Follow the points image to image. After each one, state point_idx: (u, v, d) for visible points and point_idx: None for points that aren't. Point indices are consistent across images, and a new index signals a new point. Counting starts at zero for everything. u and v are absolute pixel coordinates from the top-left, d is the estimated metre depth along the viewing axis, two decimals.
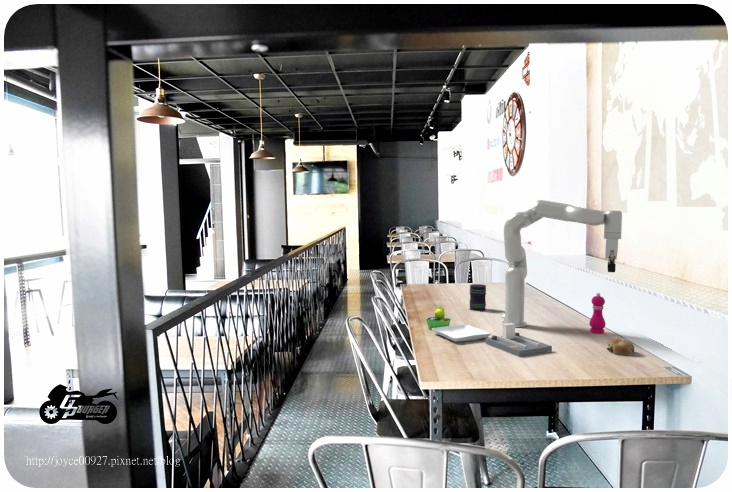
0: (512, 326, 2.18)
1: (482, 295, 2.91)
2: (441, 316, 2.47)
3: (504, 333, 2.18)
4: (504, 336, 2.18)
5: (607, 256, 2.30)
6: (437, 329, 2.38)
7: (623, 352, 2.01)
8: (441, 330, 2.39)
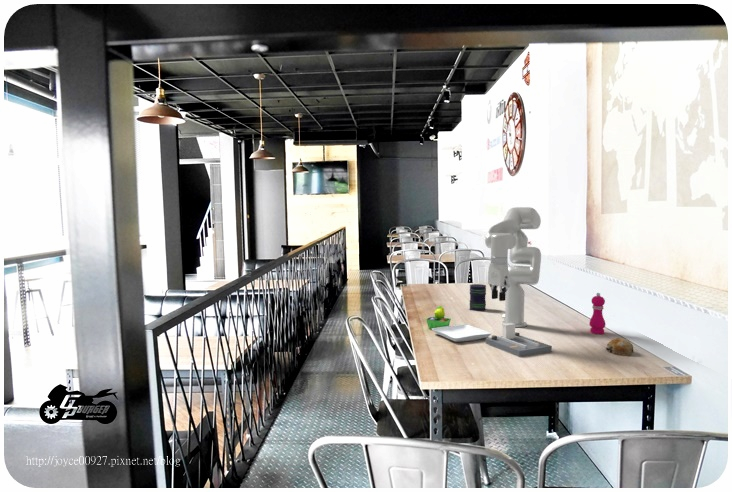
0: (512, 326, 2.18)
1: (482, 295, 2.91)
2: (441, 316, 2.47)
3: (504, 333, 2.18)
4: (504, 336, 2.18)
5: (502, 283, 2.19)
6: (437, 329, 2.38)
7: (622, 352, 2.01)
8: (441, 330, 2.39)
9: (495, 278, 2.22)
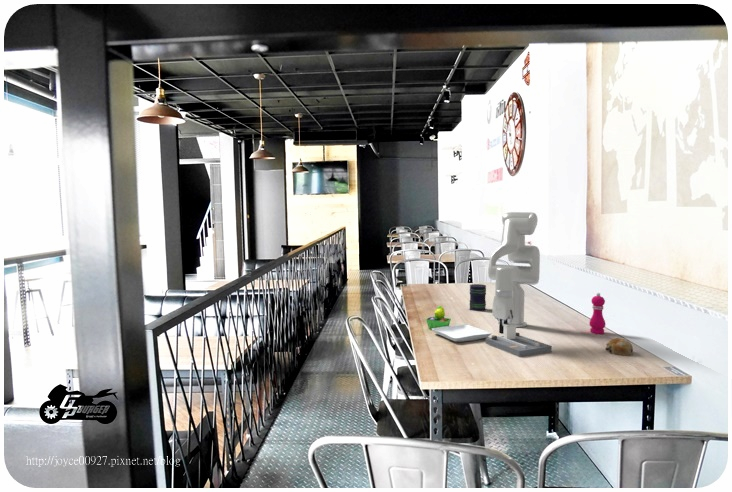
0: (513, 326, 2.17)
1: (482, 295, 2.91)
2: (441, 316, 2.47)
3: (504, 333, 2.17)
4: (505, 336, 2.17)
5: (507, 317, 2.16)
6: (437, 329, 2.38)
7: (622, 352, 2.01)
8: (441, 330, 2.39)
9: (500, 311, 2.19)
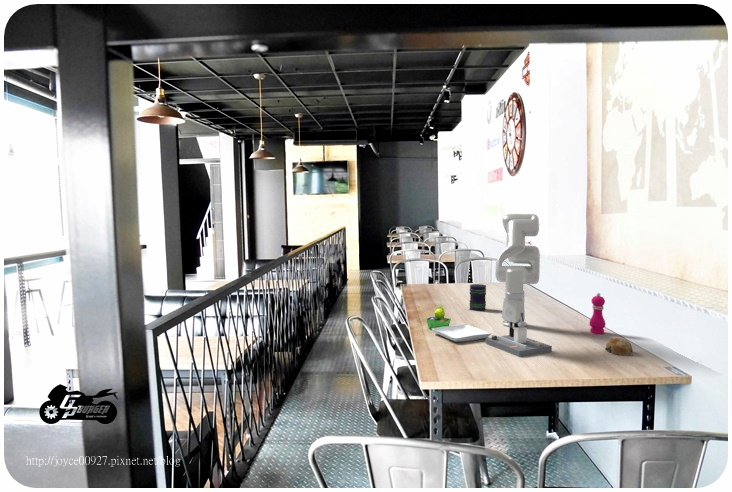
0: (524, 330, 2.11)
1: (482, 295, 2.91)
2: (441, 316, 2.47)
3: (515, 337, 2.11)
4: (515, 340, 2.11)
5: (518, 320, 2.10)
6: (437, 329, 2.38)
7: (621, 352, 2.01)
8: (441, 330, 2.39)
9: (510, 314, 2.13)
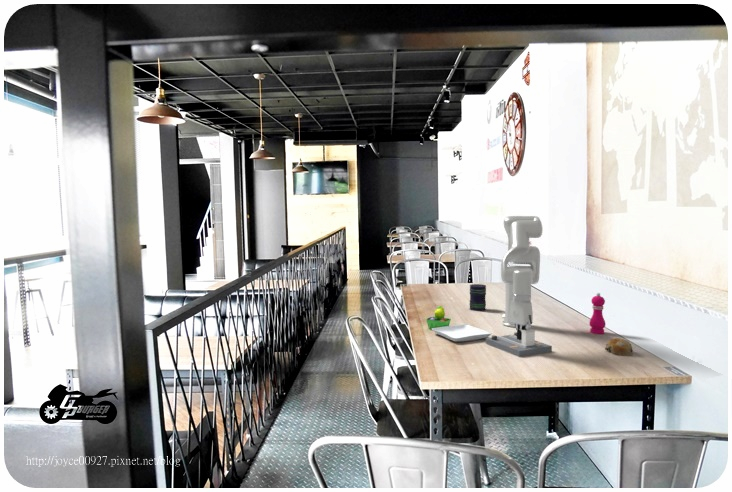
0: (532, 332, 2.06)
1: (482, 295, 2.91)
2: (441, 316, 2.47)
3: (523, 339, 2.07)
4: (523, 343, 2.06)
5: (525, 322, 2.06)
6: (437, 329, 2.38)
7: (621, 352, 2.02)
8: (441, 330, 2.39)
9: (518, 317, 2.09)
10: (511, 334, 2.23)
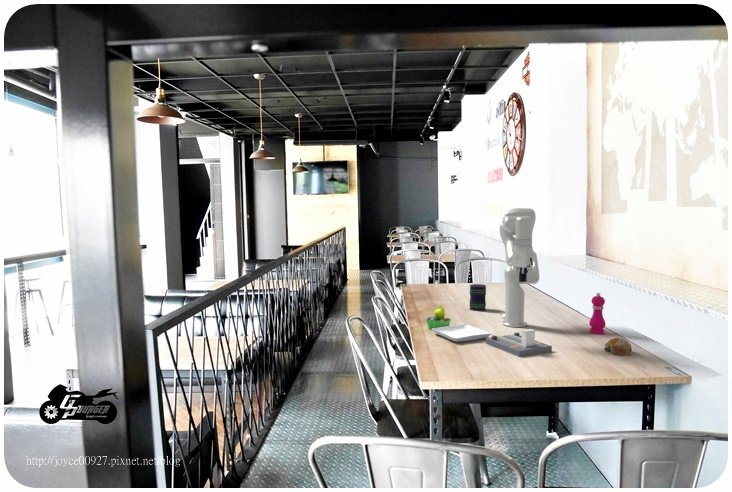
0: (532, 332, 2.06)
1: (482, 295, 2.91)
2: (441, 316, 2.47)
3: (523, 339, 2.07)
4: (523, 343, 2.06)
5: (527, 264, 2.22)
6: (437, 329, 2.38)
7: (620, 352, 2.02)
8: (441, 330, 2.38)
9: (520, 260, 2.25)
10: (511, 334, 2.23)
